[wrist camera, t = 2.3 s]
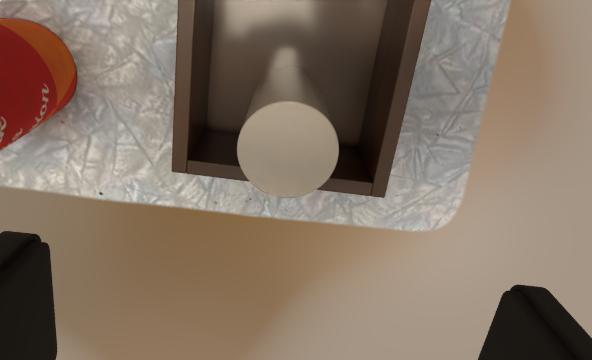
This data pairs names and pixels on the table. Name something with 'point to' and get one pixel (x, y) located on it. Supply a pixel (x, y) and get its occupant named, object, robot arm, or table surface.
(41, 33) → the coffee cup
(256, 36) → the chest
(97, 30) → the table surface
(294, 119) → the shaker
